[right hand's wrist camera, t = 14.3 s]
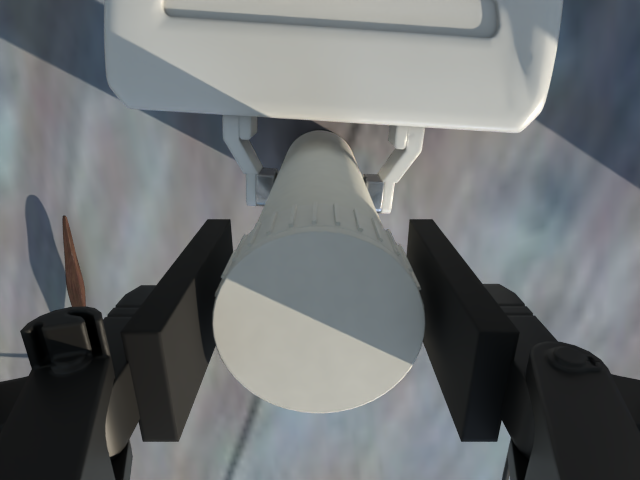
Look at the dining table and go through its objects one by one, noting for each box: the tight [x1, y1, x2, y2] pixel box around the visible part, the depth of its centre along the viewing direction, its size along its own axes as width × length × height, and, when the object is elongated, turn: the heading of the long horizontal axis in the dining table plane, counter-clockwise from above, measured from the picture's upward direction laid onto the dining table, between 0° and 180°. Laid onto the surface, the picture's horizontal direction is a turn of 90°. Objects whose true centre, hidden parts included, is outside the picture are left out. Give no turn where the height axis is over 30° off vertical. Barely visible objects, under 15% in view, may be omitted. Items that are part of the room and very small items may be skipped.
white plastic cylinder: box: [258, 130, 383, 227], centre depth 20 cm, size 5×5×19 cm
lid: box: [212, 202, 425, 413], centre depth 11 cm, size 5×5×2 cm
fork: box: [63, 216, 86, 307], centre depth 32 cm, size 3×16×2 cm, turn 176°
